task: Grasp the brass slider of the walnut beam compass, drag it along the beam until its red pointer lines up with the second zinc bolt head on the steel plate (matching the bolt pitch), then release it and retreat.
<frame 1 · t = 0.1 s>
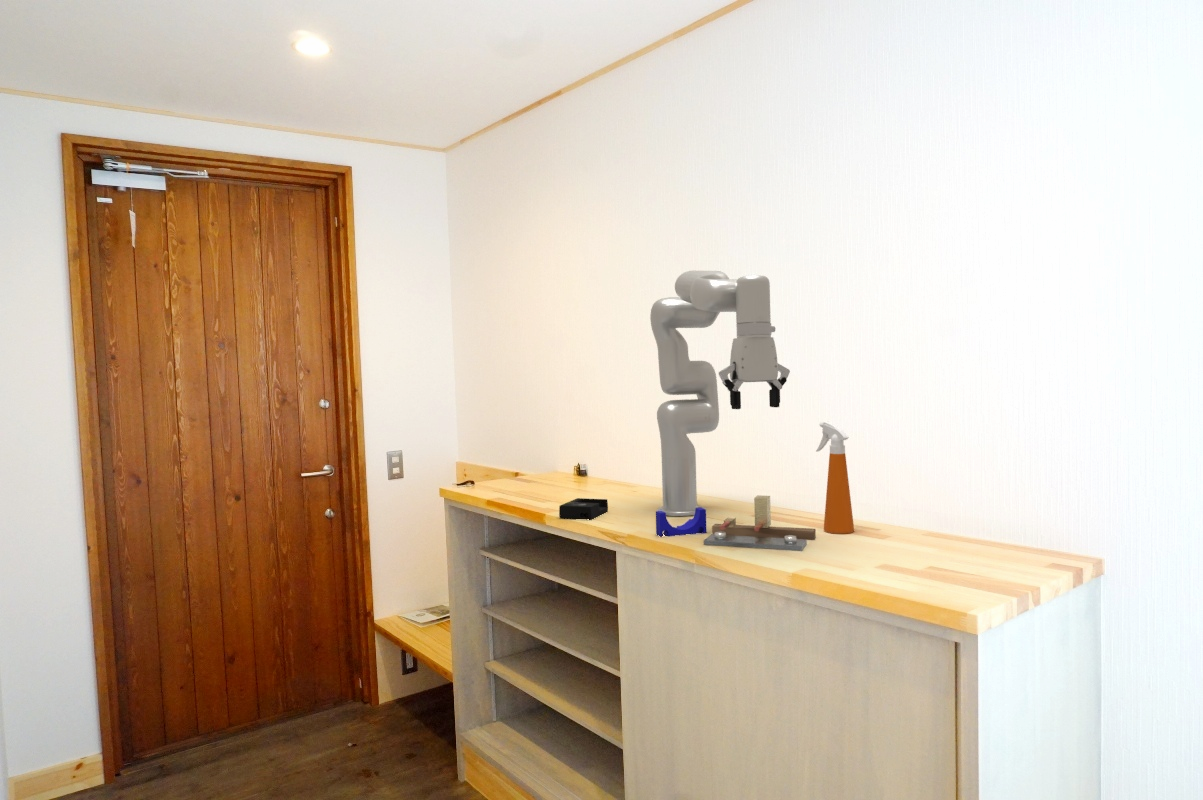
hand: (755, 408, 175), 31 cm above the cabinet, tool pointing down, fingers open, 9 cm apart
slider: (760, 513, 184), point 6 cm above the cabinet, slide at 2.0 cm
beam: (763, 535, 186), on the cabinet
cable clip: (680, 534, 192), on the cabinet
bolt plate: (754, 544, 178), on the cabinet
battery charger: (584, 517, 220), on the cabinet
spray bottle: (833, 530, 191), on the cabinet
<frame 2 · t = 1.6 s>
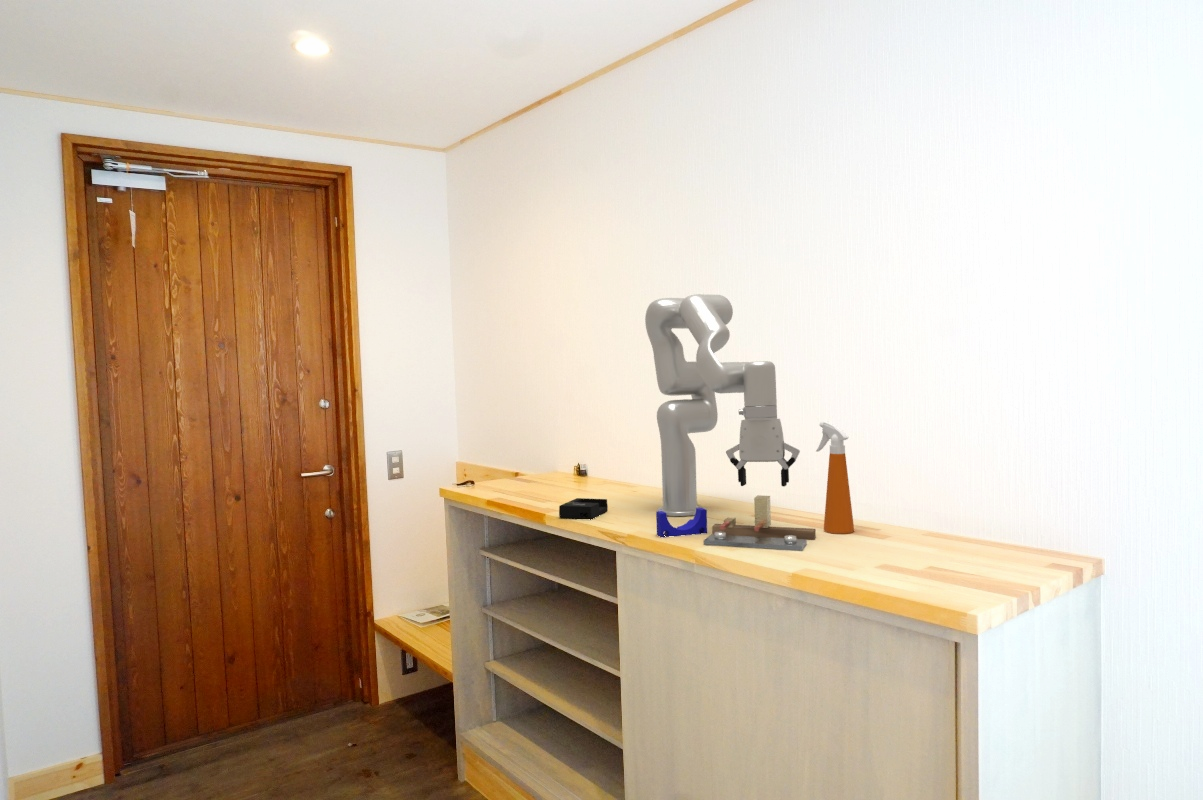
hand: (763, 485, 185), 12 cm above the cabinet, tool pointing down, fingers open, 9 cm apart
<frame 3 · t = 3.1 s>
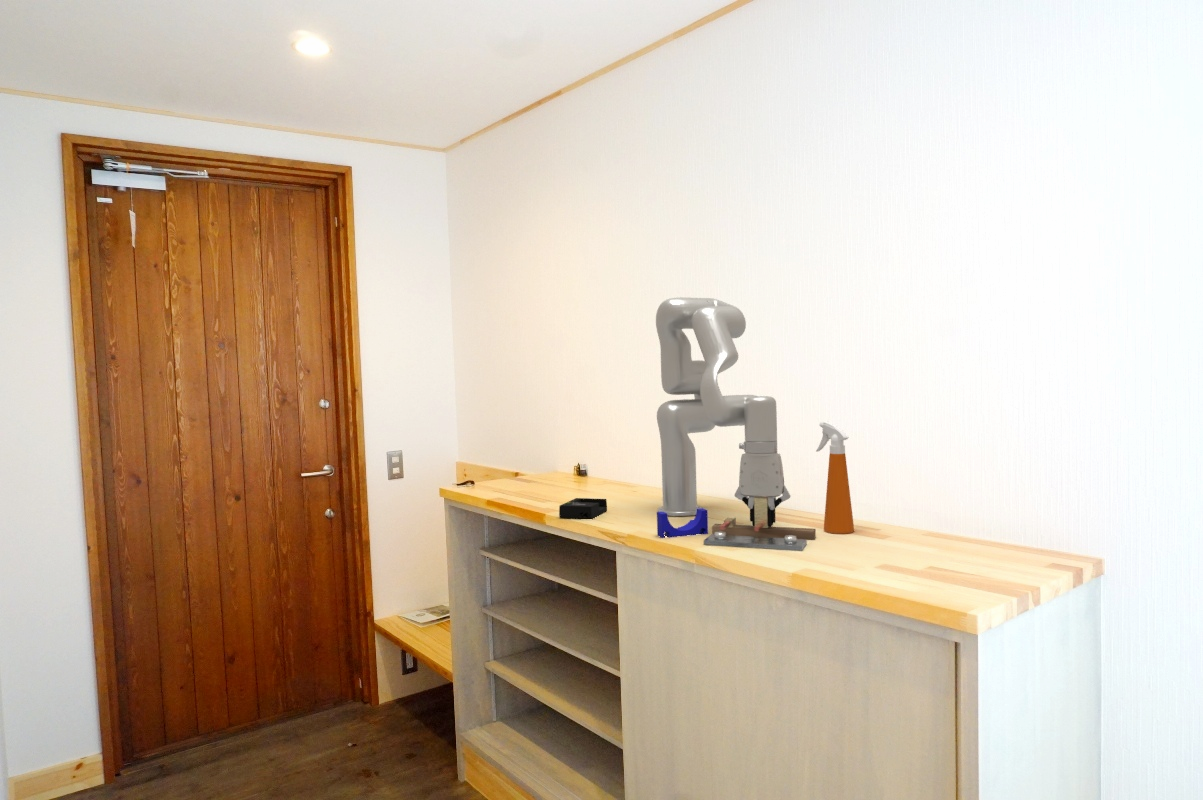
hand: (762, 524, 186), 3 cm above the cabinet, tool pointing down, fingers closed on slider, 3 cm apart
slider: (760, 513, 184), point 6 cm above the cabinet, slide at 2.0 cm, touching gripper
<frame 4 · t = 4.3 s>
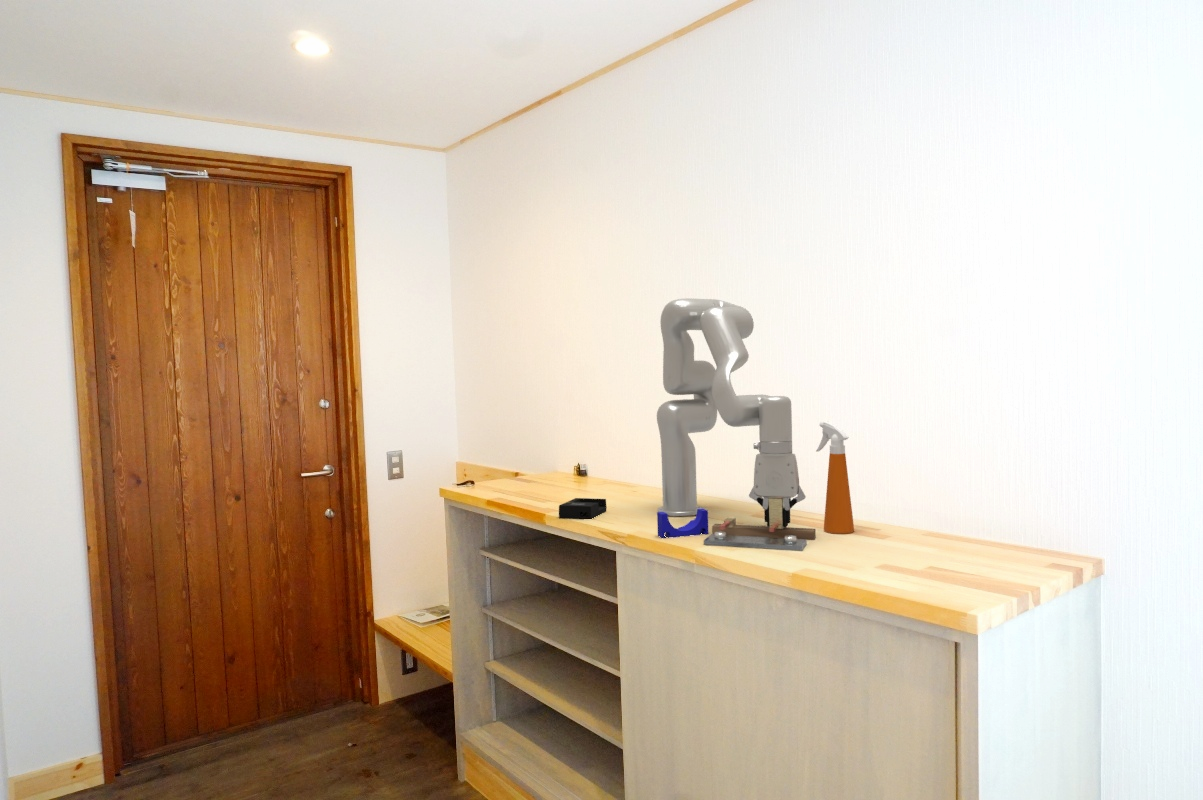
hand: (777, 525, 185), 3 cm above the cabinet, tool pointing down, fingers closed on slider, 3 cm apart
slider: (775, 514, 182), point 6 cm above the cabinet, slide at 5.5 cm, touching gripper
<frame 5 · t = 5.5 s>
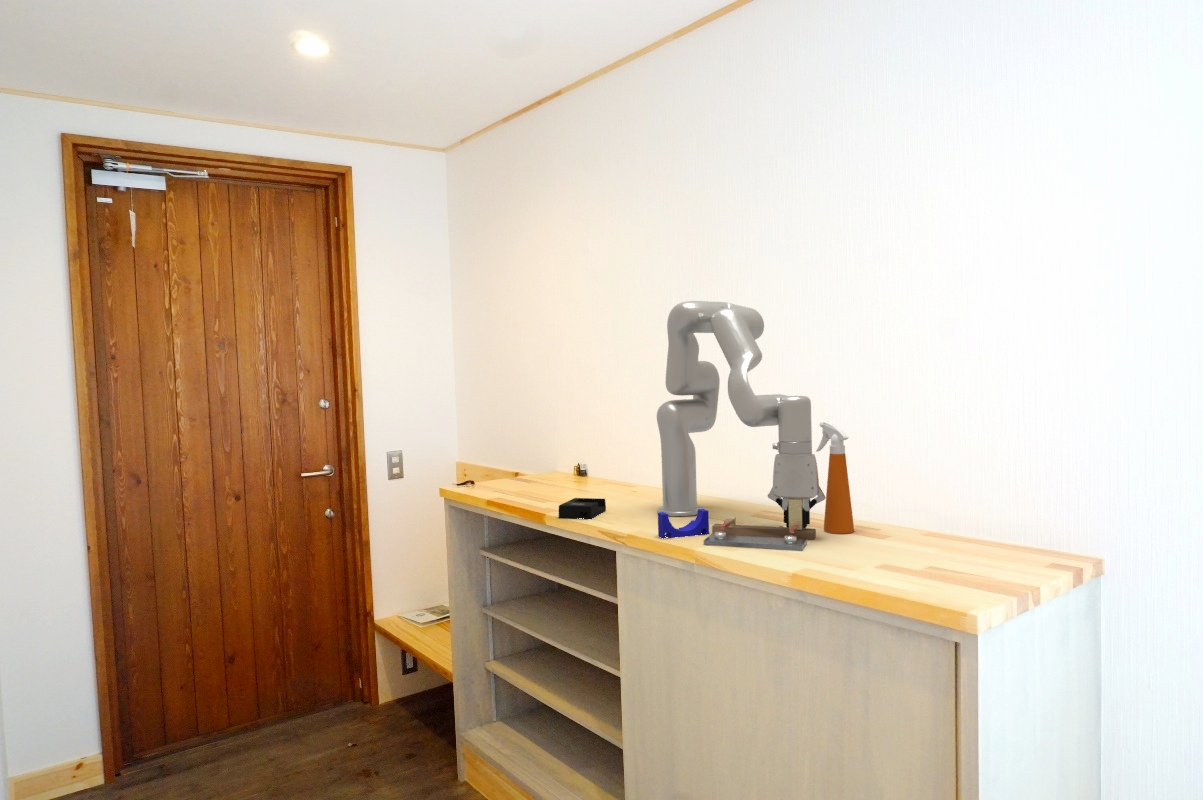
hand: (796, 526, 183), 3 cm above the cabinet, tool pointing down, fingers closed on slider, 3 cm apart
slider: (794, 515, 180), point 6 cm above the cabinet, slide at 10.0 cm, touching gripper
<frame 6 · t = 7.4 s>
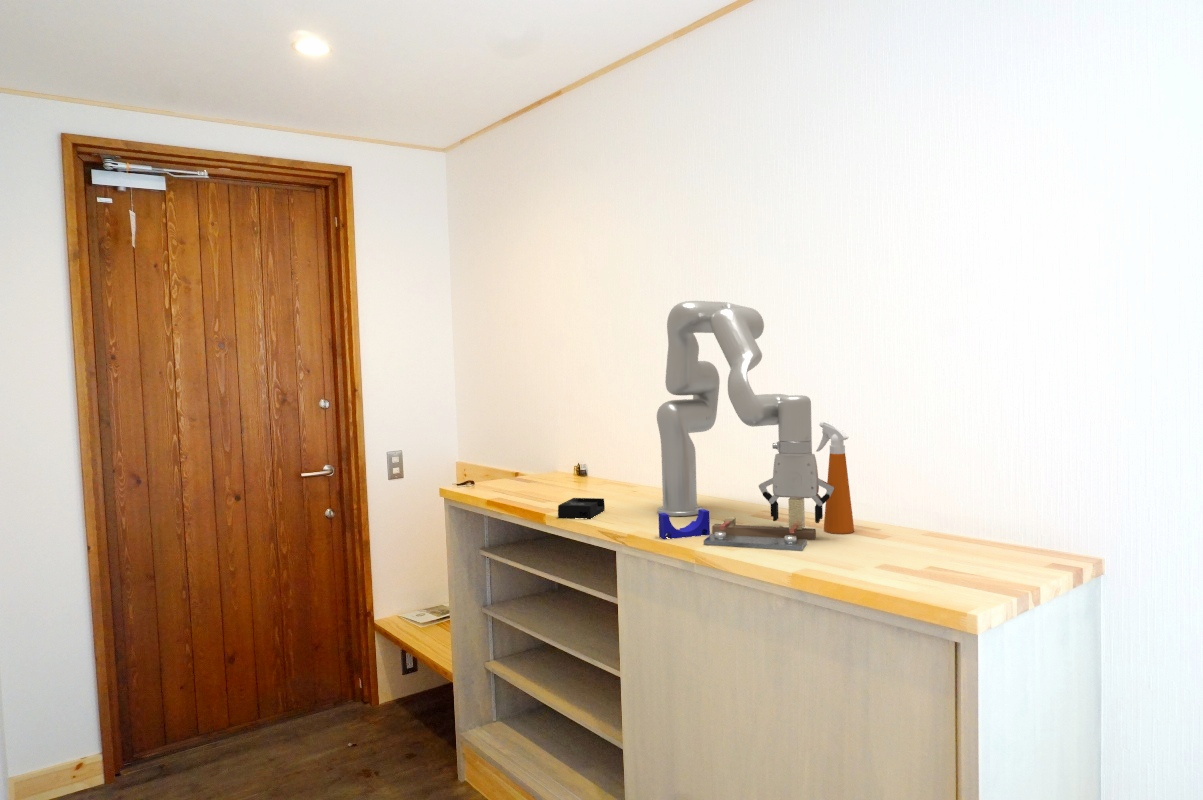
hand: (796, 520, 183), 4 cm above the cabinet, tool pointing down, fingers open, 9 cm apart
slider: (794, 515, 180), point 6 cm above the cabinet, slide at 10.0 cm
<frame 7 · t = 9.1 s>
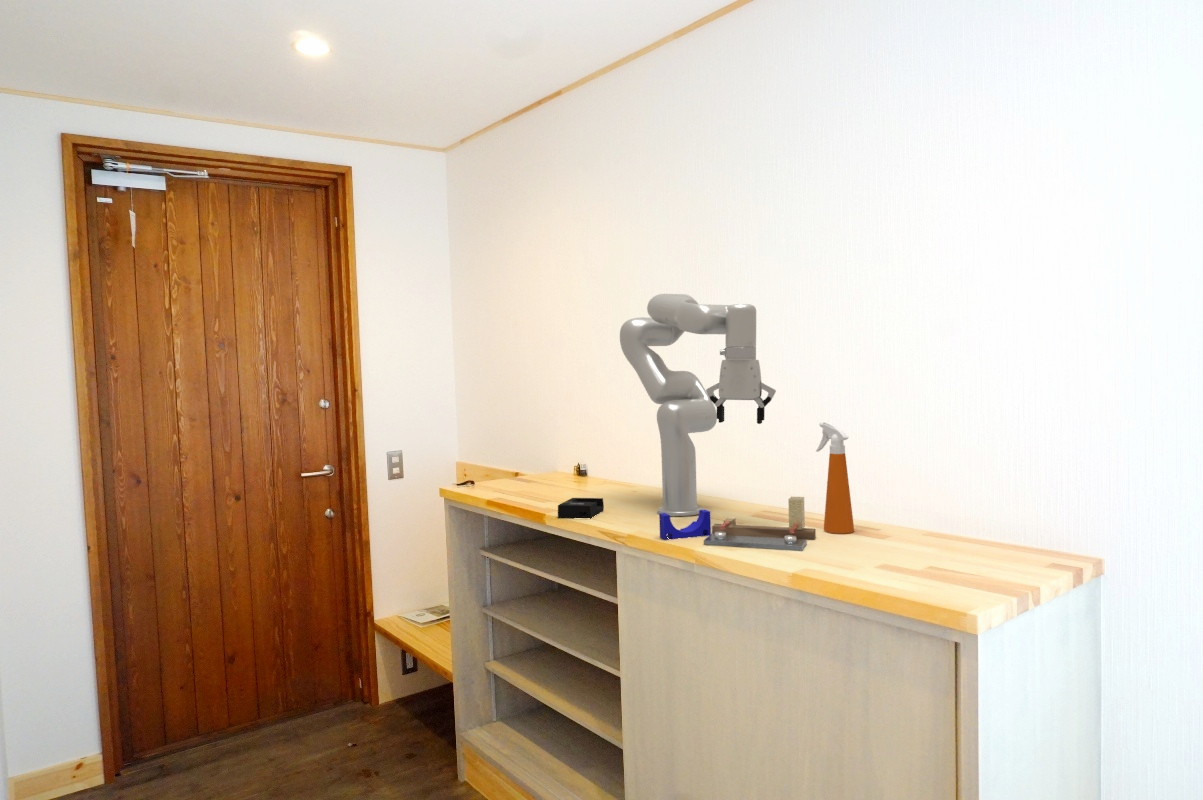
hand: (740, 422, 196), 26 cm above the cabinet, tool pointing down, fingers open, 9 cm apart
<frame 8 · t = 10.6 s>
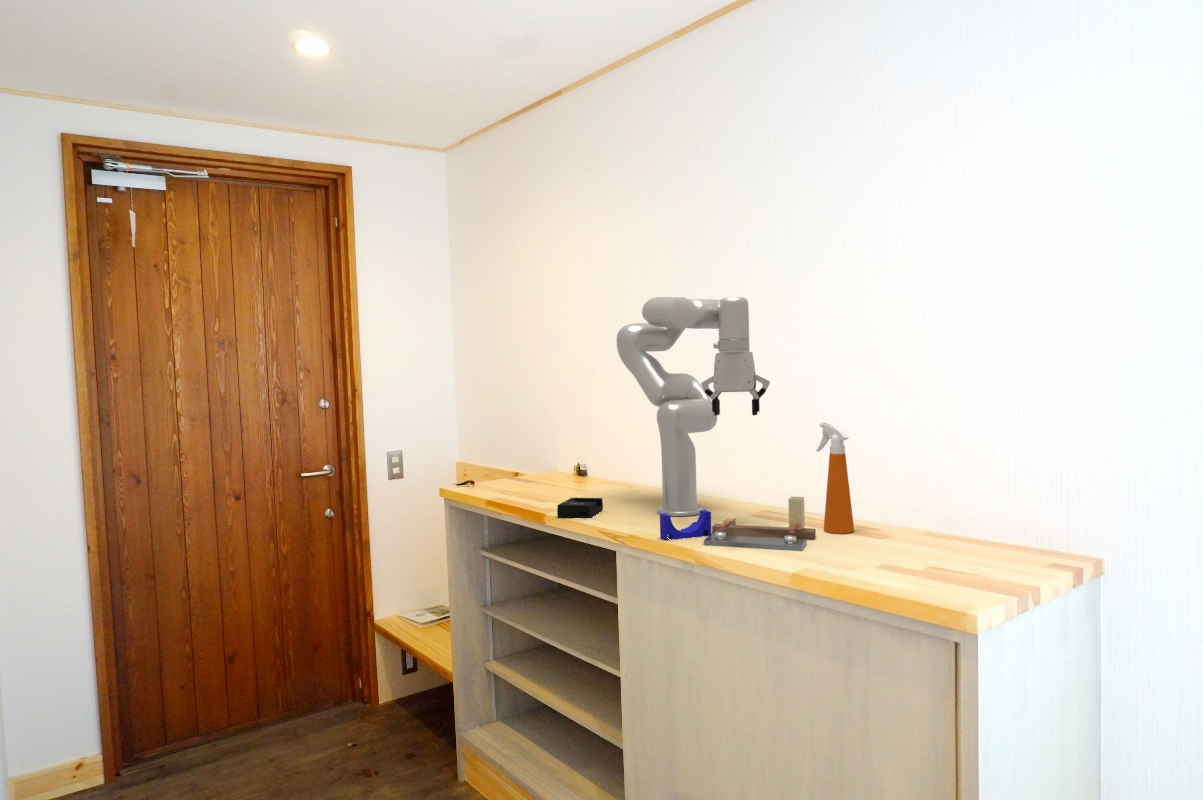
hand: (735, 415, 197), 28 cm above the cabinet, tool pointing down, fingers open, 9 cm apart
at the end: slider slide at 10.0 cm; the gripper is holding nothing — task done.
